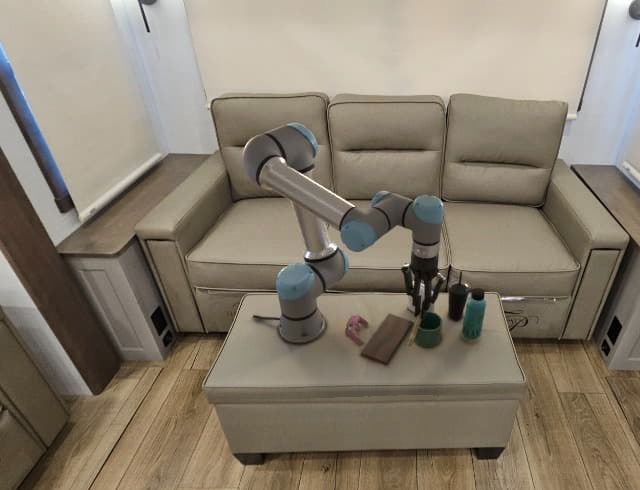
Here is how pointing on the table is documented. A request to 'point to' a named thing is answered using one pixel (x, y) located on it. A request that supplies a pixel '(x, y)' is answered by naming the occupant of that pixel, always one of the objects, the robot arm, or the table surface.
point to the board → (387, 339)
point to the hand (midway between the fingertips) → (420, 315)
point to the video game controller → (354, 327)
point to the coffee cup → (429, 330)
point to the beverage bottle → (474, 314)
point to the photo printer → (421, 300)
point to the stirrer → (414, 330)
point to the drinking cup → (457, 297)
